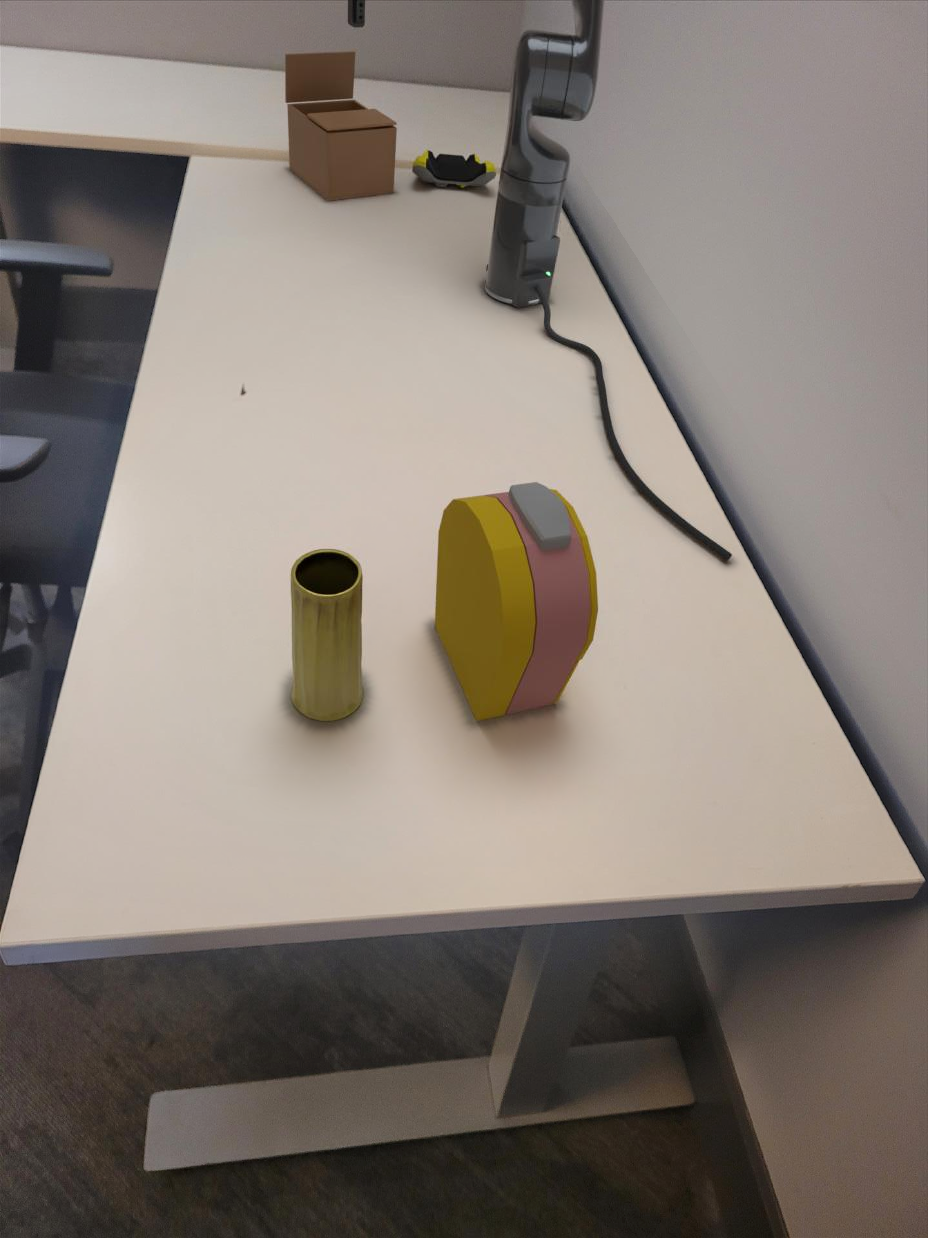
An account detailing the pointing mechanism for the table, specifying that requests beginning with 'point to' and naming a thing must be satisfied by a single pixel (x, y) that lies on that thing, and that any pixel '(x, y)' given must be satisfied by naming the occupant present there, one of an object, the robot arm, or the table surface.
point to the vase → (326, 634)
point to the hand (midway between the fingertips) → (355, 25)
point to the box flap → (351, 119)
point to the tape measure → (514, 597)
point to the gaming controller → (453, 169)
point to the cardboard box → (334, 156)
